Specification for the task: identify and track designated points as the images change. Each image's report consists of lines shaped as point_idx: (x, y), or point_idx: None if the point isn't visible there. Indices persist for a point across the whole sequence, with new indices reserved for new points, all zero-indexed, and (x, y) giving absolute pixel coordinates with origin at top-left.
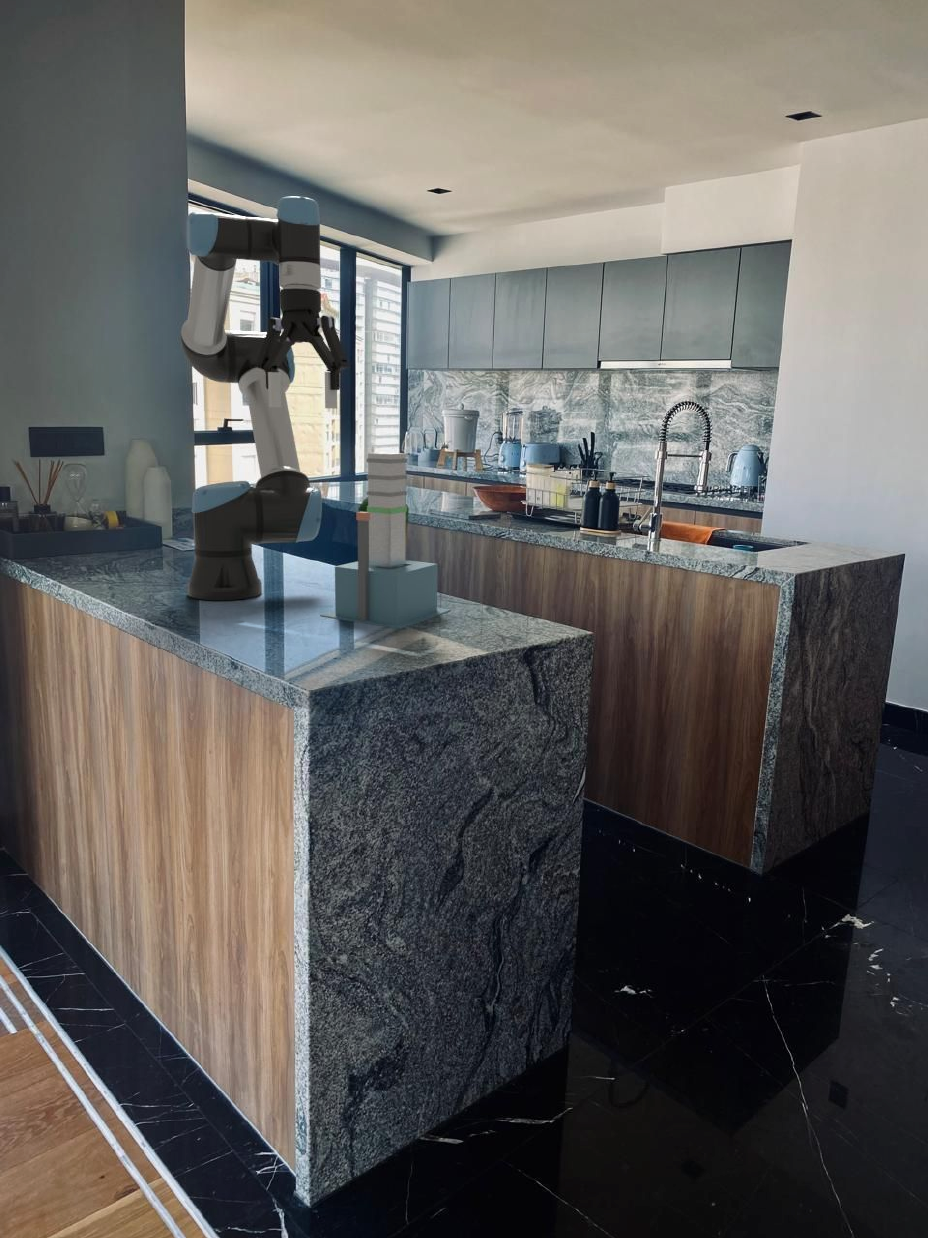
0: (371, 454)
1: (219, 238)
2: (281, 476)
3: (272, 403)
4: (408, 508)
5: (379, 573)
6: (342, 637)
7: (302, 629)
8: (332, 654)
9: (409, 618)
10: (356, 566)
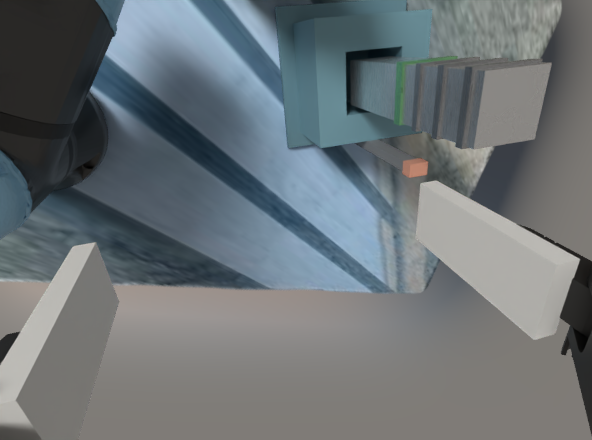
0: (480, 146)
1: None
2: None
3: (114, 309)
4: None
5: (394, 136)
6: (359, 186)
7: (305, 193)
8: (386, 231)
9: None
10: (344, 124)
